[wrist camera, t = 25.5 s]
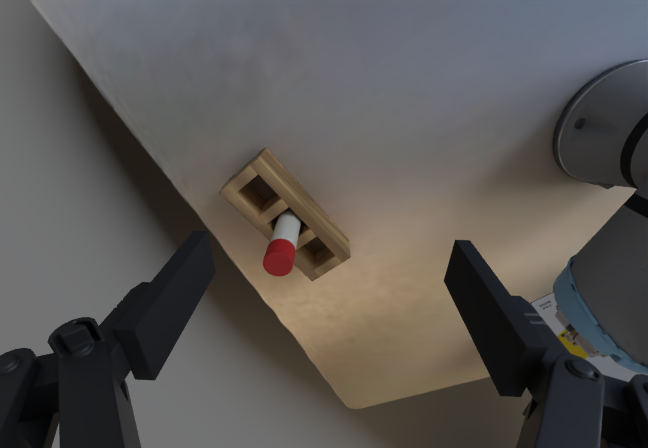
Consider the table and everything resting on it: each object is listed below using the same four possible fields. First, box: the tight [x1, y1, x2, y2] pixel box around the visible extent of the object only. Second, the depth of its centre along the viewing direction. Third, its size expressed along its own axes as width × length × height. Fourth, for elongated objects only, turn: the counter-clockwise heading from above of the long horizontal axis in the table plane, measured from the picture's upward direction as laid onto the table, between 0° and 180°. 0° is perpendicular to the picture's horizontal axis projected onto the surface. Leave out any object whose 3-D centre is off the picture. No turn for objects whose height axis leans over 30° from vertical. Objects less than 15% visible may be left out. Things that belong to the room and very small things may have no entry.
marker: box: [263, 207, 302, 276], centre depth 41 cm, size 4×4×14 cm
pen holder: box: [219, 148, 350, 281], centre depth 45 cm, size 8×20×5 cm, turn 39°
